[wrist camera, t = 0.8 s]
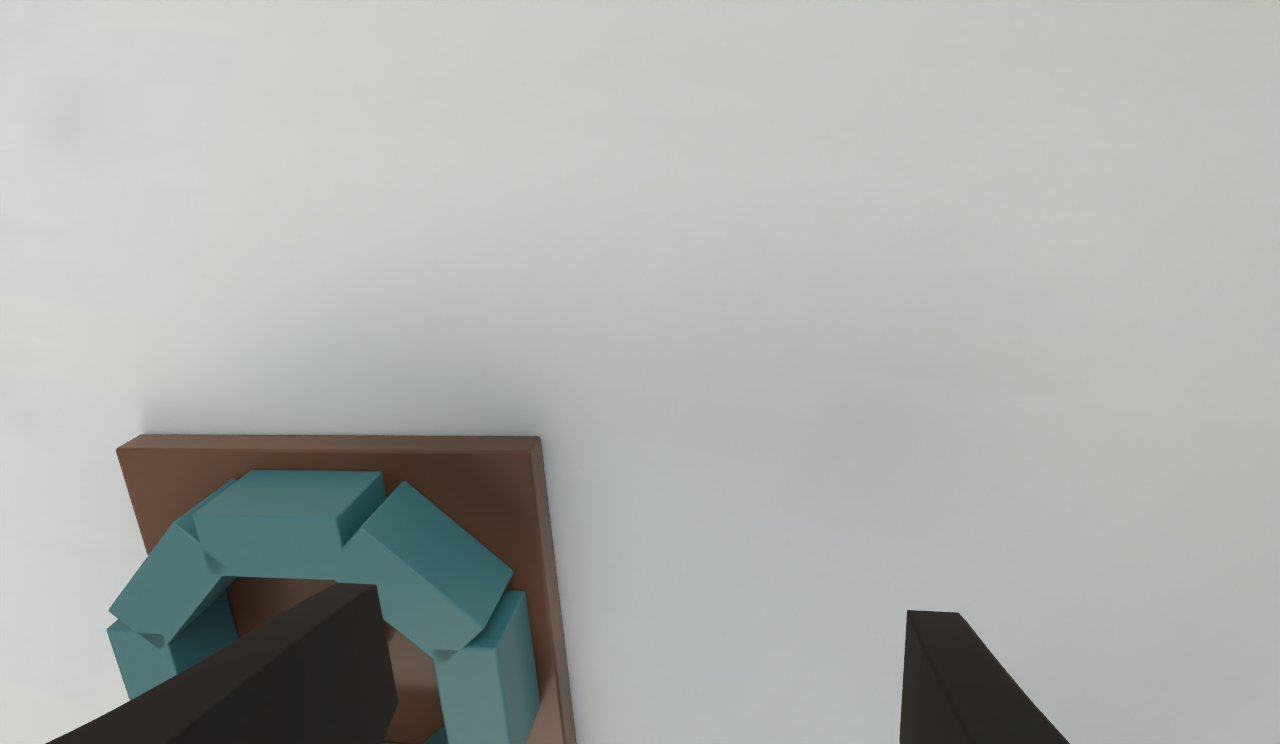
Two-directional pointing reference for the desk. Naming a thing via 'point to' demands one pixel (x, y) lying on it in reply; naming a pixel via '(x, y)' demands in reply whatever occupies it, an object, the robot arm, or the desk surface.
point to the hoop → (348, 553)
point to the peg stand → (434, 465)
